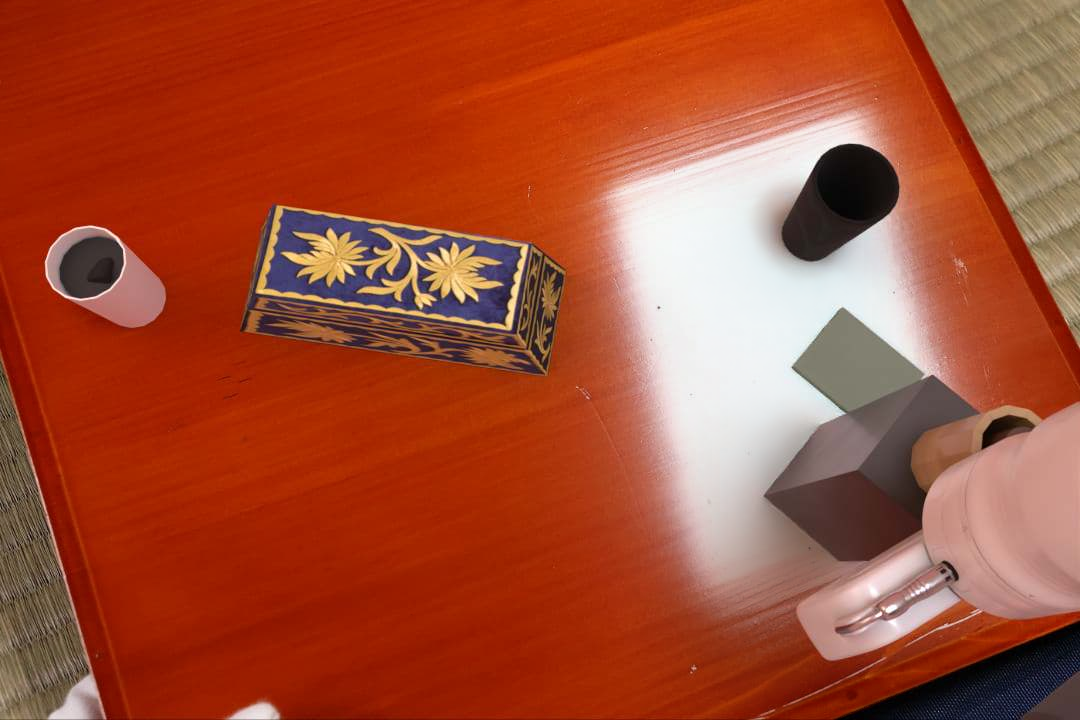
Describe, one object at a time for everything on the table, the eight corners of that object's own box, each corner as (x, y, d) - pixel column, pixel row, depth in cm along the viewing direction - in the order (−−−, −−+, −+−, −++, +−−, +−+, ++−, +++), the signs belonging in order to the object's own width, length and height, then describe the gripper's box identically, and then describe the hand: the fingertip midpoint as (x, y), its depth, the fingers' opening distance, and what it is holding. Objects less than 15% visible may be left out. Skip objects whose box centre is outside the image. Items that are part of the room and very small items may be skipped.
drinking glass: (174, 266, 83) (130, 226, 73) (166, 333, 81) (121, 301, 72) (104, 264, 83) (50, 224, 73) (94, 331, 81) (39, 299, 71)
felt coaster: (922, 375, 84) (925, 373, 83) (874, 436, 82) (876, 435, 81) (840, 308, 85) (842, 306, 84) (791, 367, 83) (793, 366, 83)
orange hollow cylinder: (1000, 461, 59) (1075, 445, 52) (957, 519, 58) (1027, 511, 51) (939, 411, 60) (1004, 388, 52) (896, 467, 59) (955, 452, 51)
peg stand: (896, 487, 81) (1130, 440, 51) (839, 561, 79) (1047, 558, 49) (820, 424, 82) (1005, 341, 52) (763, 495, 80) (919, 452, 50)
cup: (760, 210, 87) (799, 155, 75) (829, 191, 88) (879, 133, 76) (787, 280, 85) (832, 234, 74) (858, 259, 86) (913, 211, 74)
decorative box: (262, 226, 84) (234, 186, 76) (566, 271, 84) (573, 236, 76) (237, 331, 82) (206, 303, 73) (551, 377, 82) (557, 354, 73)
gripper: (899, 686, 42) (801, 690, 55) (1194, 495, 47) (1041, 540, 60) (825, 570, 44) (747, 600, 57) (1116, 397, 49) (983, 461, 62)
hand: (899, 568), depth 58 cm, fingers open, 3 cm apart
